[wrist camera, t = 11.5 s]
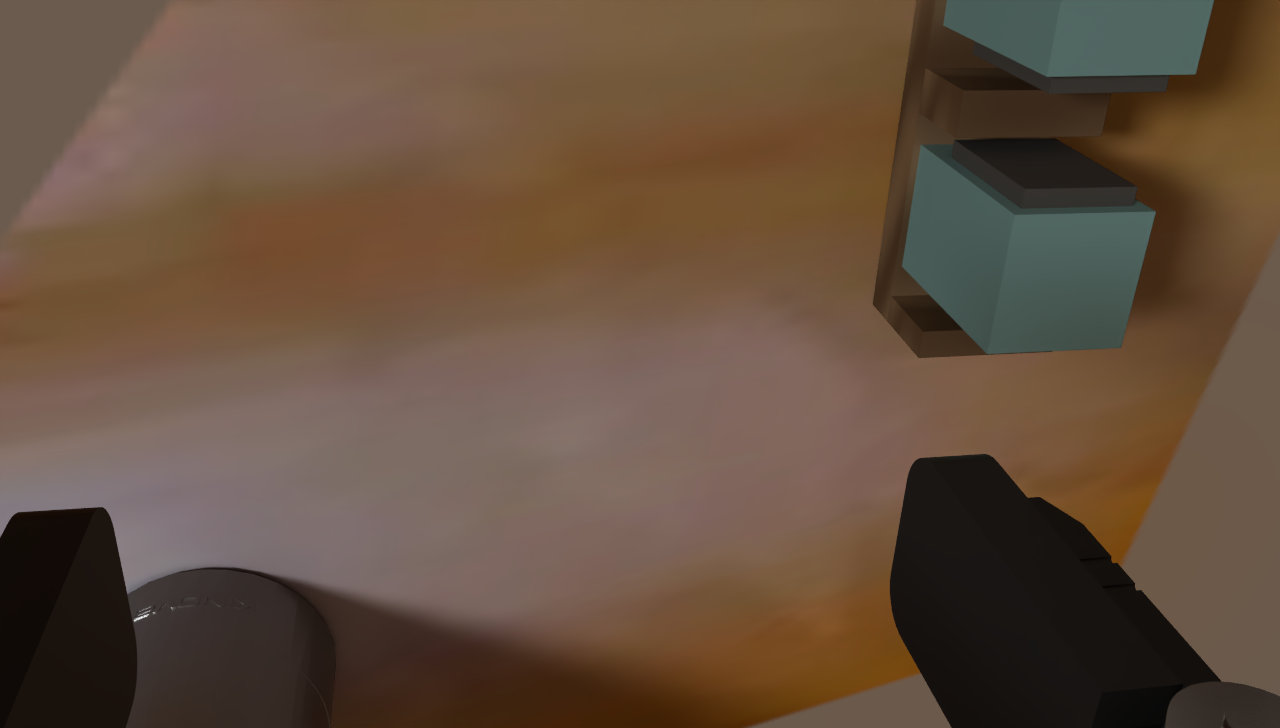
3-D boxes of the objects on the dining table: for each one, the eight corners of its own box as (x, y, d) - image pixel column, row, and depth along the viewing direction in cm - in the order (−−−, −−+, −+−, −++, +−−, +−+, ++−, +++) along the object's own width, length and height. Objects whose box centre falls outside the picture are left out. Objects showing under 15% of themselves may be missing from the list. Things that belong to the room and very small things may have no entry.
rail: (995, 299, 45) (1052, 351, 41) (872, 304, 44) (918, 358, 40) (1091, -188, 37) (1173, -182, 33) (945, -194, 36) (1010, -188, 32)
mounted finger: (1018, 262, 42) (1120, 347, 36) (902, 266, 42) (987, 353, 35) (1045, 126, 40) (1160, 192, 34) (923, 127, 39) (1018, 194, 33)
